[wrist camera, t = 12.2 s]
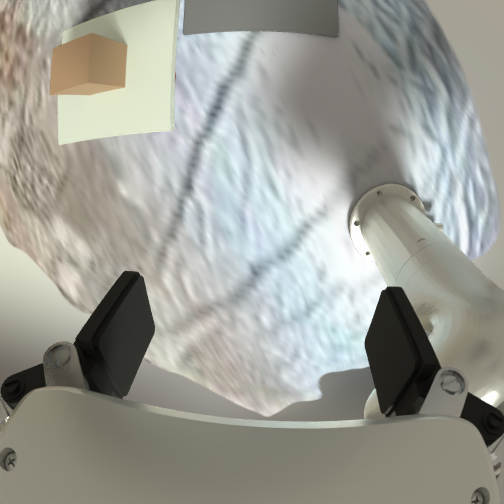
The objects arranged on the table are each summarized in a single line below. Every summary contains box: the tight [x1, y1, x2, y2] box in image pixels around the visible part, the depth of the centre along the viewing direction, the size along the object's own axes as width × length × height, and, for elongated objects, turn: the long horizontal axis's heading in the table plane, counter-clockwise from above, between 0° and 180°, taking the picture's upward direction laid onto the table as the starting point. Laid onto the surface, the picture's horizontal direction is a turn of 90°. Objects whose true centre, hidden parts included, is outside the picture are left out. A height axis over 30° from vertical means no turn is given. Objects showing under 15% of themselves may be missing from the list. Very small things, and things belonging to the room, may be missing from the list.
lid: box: [50, 0, 180, 145], centre depth 19 cm, size 14×14×7 cm
